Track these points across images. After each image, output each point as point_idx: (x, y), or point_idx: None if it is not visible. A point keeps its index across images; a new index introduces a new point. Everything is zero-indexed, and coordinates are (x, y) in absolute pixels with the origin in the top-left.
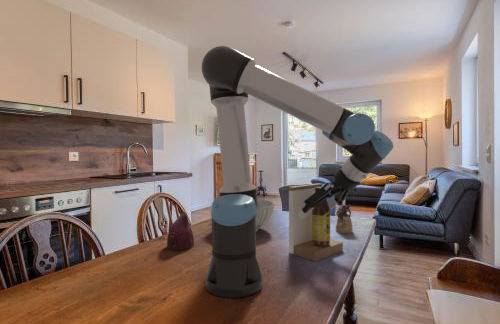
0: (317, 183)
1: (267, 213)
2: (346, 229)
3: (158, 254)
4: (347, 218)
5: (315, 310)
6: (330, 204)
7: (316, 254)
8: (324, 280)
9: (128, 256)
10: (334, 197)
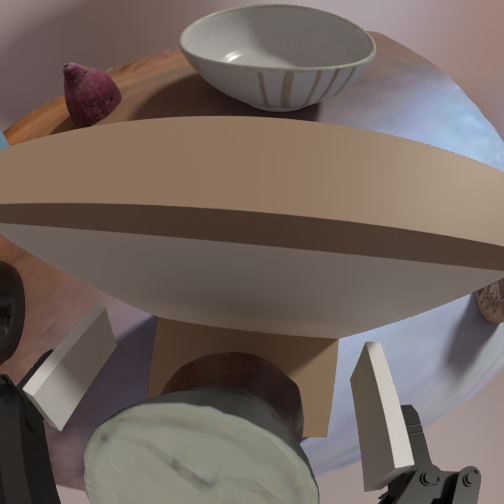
0: None
1: (292, 88)
2: (491, 315)
3: (57, 126)
4: None
5: None
6: (372, 433)
7: None
8: None
9: (44, 117)
10: (409, 479)
